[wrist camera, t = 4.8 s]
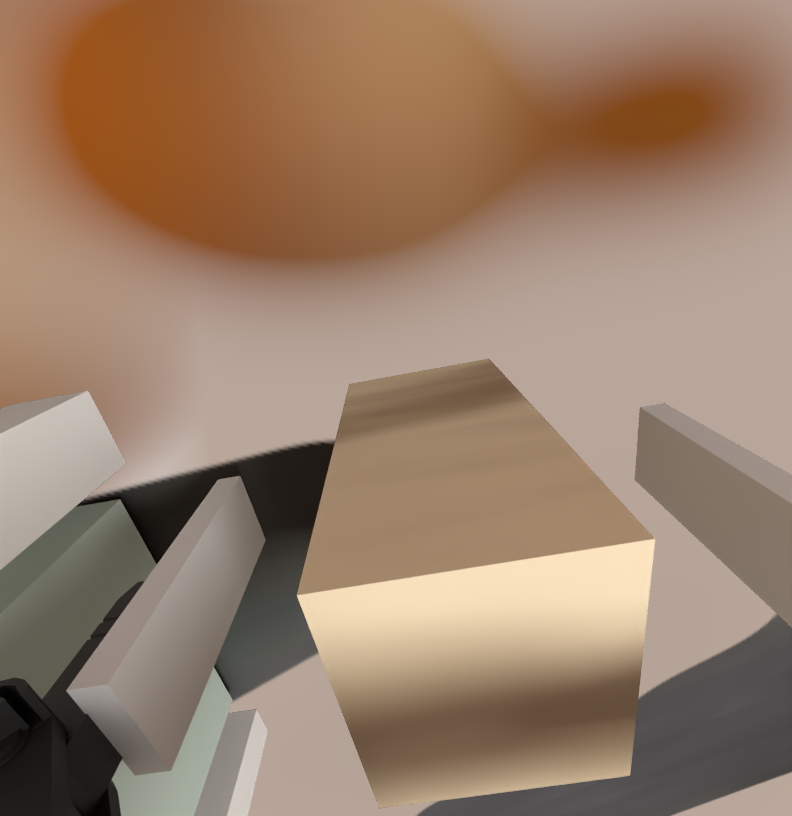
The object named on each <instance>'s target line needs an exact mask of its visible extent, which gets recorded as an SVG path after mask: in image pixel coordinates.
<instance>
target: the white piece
mask: <svg viewBox="0 0 792 816" xmlns="http://www.w3.org/2000/svg"><path fill="white" fill-rule="evenodd" d="M125 464H126V461H125V460H124V458H123V456H122V454H121V452H120V450H119V448H118V447H117V444H116V443H115V441H114V439H113V437H112V435H111V433H110V432H109V429H108V427H107V425H106V424H105V422H104V420H103V418H102V416H101V414H100V413H99V410H98V408H97V407H96V405H95V403H94V401H93V399H92V397H91V395H90V393H89V391H83V392H78V393H72V394H67V395H61V396H56V397H51V398H46V399H40V400H35V401H30V402H24V403H19V404H14V405H8V406H5V407H3V408H1V409H0V570H1V569H2V568H3V567H5V566H6V565H7V564H8V563H9V562H10V561H12V560H13V559H14V558H15V557H16V556H18V555H19V554H20V553H21V552H22V551H23V550H25V549H26V548H27V547H28V546H29V545H31V544H32V543H33V542H34V541H35V540H36V539H38V538H39V537H40V536H41V535H42V534H44V533H45V532H46V531H47V530H48V529H49V528H51V527H52V526H53V525H54V524H55V523H57V522H58V521H59V520H60V519H61V518H62V517H64V516H65V515H66V514H67V513H68V512H70V511H71V510H72V509H73V508H74V507H75V506H77V505H78V504H79V503H80V502H81V501H83V500H84V499H85V498H86V497H87V496H88V495H90V494H91V493H92V492H93V491H94V490H96V489H97V488H98V487H99V486H100V485H101V484H103V483H104V482H105V481H106V480H107V479H109V478H110V477H111V476H112V475H113V474H114V473H116V472H117V471H118V470H119V469H120V468H122V467H123V466H124V465H125ZM267 732H268V731H267V728H266V727H265V725H264V723H263V721H262V719H261V717H260V715H259V713H258V711H257V710H256V709H254V710H248V711H241V712H235V713H228V715H227V718H226V721H225V724H224V727H223V730H222V733H221V736H220V739H219V742H218V745H217V748H216V751H215V754H214V757H213V760H212V763H211V766H210V769H209V772H208V775H207V778H206V781H205V784H204V787H203V790H202V793H201V796H200V799H199V802H198V805H197V808H196V811H195V814H194V816H248V812H249V807H250V803H251V798H252V795H253V791H254V786H255V782H256V778H257V774H258V770H259V766H260V761H261V757H262V753H263V749H264V745H265V741H266V736H267Z"/></svg>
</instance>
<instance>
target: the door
mask: <svg viewBox="0 0 792 816" xmlns="http://www.w3.org/2000/svg"><path fill="white" fill-rule="evenodd" d="M156 565H157V564H156V563H155V561H154V559H153V557H152V555H151V554H150V552H149V550H148V548H147V546H146V545H145V543H144V541H143V539H142V538H141V536H140V534H139V532H138V530H137V529H136V527H135V525H134V523H133V521H132V520H131V518H130V516H129V514H128V512H127V511H126V509H125V507H124V505H123V504H122V502H121V500H120V499H118V500H112V501H107V502H101V503H95V504H89V505H83V506H78V507H74V508H73V509H72V510H71V511H70V512H68V513H67V514H66V515H65V516H64V517H62V518H61V519H60V520H59V521H58V522H57V523H55V524H54V525H53V526H52V527H51V528H49V529H48V530H47V531H46V532H45V533H44V534H42V535H41V536H40V537H39V538H38V539H36V540H35V541H34V542H33V543H32V544H31V545H29V546H28V547H27V548H26V549H25V550H23V551H22V552H21V553H20V554H19V555H18V556H16V557H15V558H14V559H13V560H12V561H10V562H9V563H8V564H7V565H6V566H5V567H3V568H2V569H1V570H0V681H2V680H6V679H10V678H14V677H16V678H20V679H25V680H26V682H27V683H28V684H29V685H30V686H31V687H32V689H33V690H34V691H35V692H36V693H37V694H38V696H39V697H40V698H41V699H43V698H44V696H45V695H46V694H47V692H48V691H49V690H50V688H51V687H52V686H53V684H54V683H55V682H56V680H57V679H58V678H59V677H60V675H61V674H62V673H63V671H64V670H65V669H66V667H67V666H68V665H69V663H70V662H71V661H72V659H73V658H74V657H75V655H76V654H77V653H78V651H79V650H80V649H81V648H82V646H83V645H84V644H85V642H86V641H87V640H90V638H91V634H92V633H93V632H94V630H95V629H96V628H97V626H98V625H99V624H100V623H103V619H104V617H105V616H106V615H107V613H108V612H109V611H110V609H111V608H112V607H113V605H114V604H115V603H116V601H117V600H118V599H119V598H120V597H121V596H122V595H124V594H125V593H126V592H127V591H128V590H129V589H130V588H131V587H133V586H134V585H135V584H136V583H137V582H140V581H145V580H146V579H147V578H148V576H149V575H150V573H151V572H152V571H153V569H154V568H155V566H156ZM231 703H232V698H231V697H230V695H229V693H228V691H227V689H226V688H225V686H224V684H223V682H222V680H221V679H220V677H219V675H218V673H217V672H216V670H215V668H214V667H213V670H212V672H211V675H210V677H209V680H208V682H207V685H206V687H205V689H204V692H203V694H202V697H201V699H200V702H199V704H198V706H197V709H196V711H195V714H194V716H193V719H192V721H191V724H190V726H189V728H188V731H187V733H186V736H185V738H184V741H183V743H182V746H181V748H180V750H179V753H178V755H177V758H176V760H175V763H174V765H173V768H172V770H171V771H165V772H158V773H151V774H143V775H136V776H135V775H134V774H133V772H132V771H131V770H130V769H129V768H128V766H127V765H126V764H125V763H124V761H123V760H121V762H120V764H119V766H118V768H117V770H116V772H115V774H114V776H113V778H112V781H113V782H114V784H115V787H116V789H117V791H118V797H119V804H120V811H121V816H194V814H195V811H196V808H197V805H198V802H199V799H200V796H201V793H202V790H203V787H204V784H205V781H206V778H207V775H208V772H209V769H210V766H211V763H212V760H213V757H214V754H215V751H216V748H217V745H218V742H219V739H220V736H221V733H222V730H223V727H224V724H225V721H226V718H227V715H228V712H229V709H230V706H231Z"/></svg>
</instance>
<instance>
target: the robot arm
mask: <svg viewBox="0 0 792 816" xmlns="http://www.w3.org/2000/svg"><path fill="white" fill-rule="evenodd" d="M635 481H637V482H638V483H639V484H640V485H641V486H642V487H643V488H644V489H645V490H646V491H647V492H648V493H649V494H650V495H651V496H653V497H654V498H655V499H656V500H657V501H658V502H659V503H660V504H661V505H662V506H663V507H664V508H665V509H666V510H668V511H669V512H670V513H671V514H672V515H673V516H674V517H675V518H676V519H677V520H678V521H679V522H680V523H681V524H682V525H683V526H684V527H686V528H687V529H688V530H689V531H690V532H691V533H692V534H693V535H694V536H695V537H696V538H698V540H699V541H700V542H702V543H703V544H704V545H705V546H706V547H707V548H708V549H709V550H710V551H711V552H712V553H713V554H714V555H715V556H716V557H717V558H718V559H720V560H721V561H722V562H723V563H724V564H725V565H726V566H727V567H728V568H729V569H730V570H731V571H732V572H733V573H734V574H736V575H737V576H738V577H739V578H740V579H741V580H742V581H743V582H744V583H745V584H746V585H747V586H748V587H749V588H751V590H753V591H754V592H755V593H756V594H757V595H758V596H759V597H760V598H761V599H762V600H763V601H764V602H766V604H768V605H769V606H770V607H771V608H772V609H773V610H774V611H775V612H776V613H777V614H778V615H779V616H780V617H781V618H782V619H783V620H784V621H786V622H787V623H788V624H789V625H790V626H791V627H792V475H791V474H790V473H788V472H786V471H784V470H783V469H781V468H779V467H777V466H775V465H774V464H772V463H770V462H768V461H767V460H765V459H763V458H761V457H760V456H758V455H756V454H754V453H752V452H751V451H749V450H747V449H745V448H744V447H742V446H740V445H738V444H736V443H735V442H733V441H731V440H729V439H728V438H726V437H724V436H722V435H720V434H719V433H717V432H715V431H713V430H711V429H710V428H708V427H706V426H704V425H703V424H701V423H699V422H697V421H696V420H694V419H692V418H690V417H689V416H687V415H685V414H683V413H681V412H680V411H678V410H676V409H674V408H673V407H671V406H669V405H667V404H665V403H662V404H656V405H650V406H644V407H640V413H639V429H638V442H637V456H636V470H635ZM265 540H266V539H265V537H264V534H263V532H262V529H261V527H260V524H259V522H258V519H257V517H256V514H255V512H254V509H253V507H252V504H251V502H250V499H249V497H248V494H247V492H246V489H245V487H244V484H243V482H242V479H241V477H240V476H236V477H230V478H224V479H218V480H217V482H216V483H215V484H214V486H213V487H212V489H211V490H210V491H209V493H208V494H207V496H206V497H205V498H204V500H203V501H202V503H201V504H200V505H199V507H198V508H197V510H196V511H195V512H194V514H193V515H192V516H191V518H190V519H189V521H188V522H187V523H186V525H185V526H184V528H183V529H182V530H181V532H180V533H179V535H178V536H177V537H176V539H175V540H174V541H173V543H172V544H171V546H170V547H169V548H168V550H167V551H166V553H165V554H164V555H163V557H162V558H161V560H160V561H159V562H158V564H157V565H156V566H155V568H154V569H153V571H152V572H151V573H150V575H149V576H148V578H147V579H146V580H145V581H140V582H137V583H136V584H135V585H134V586H133V587H131V588H130V589H129V590H128V591H127V592H126V593H125V594H124V595H122V596H121V597H120V598H119V599H118V600H117V601H116V603H115V604H114V605H113V607H112V608H111V609H110V611H109V612H108V613H107V615H106V616H105V617H104V619H103V623H100V624H99V625H98V626H97V628H96V629H95V630H94V632H93V633H92V634H91V638H90V640H87V641H86V642H85V644H84V645H83V646H82V648H81V649H80V650H79V651H78V653H77V654H76V655H75V657H74V658H73V659H72V661H71V662H70V663H69V665H68V666H67V667H66V669H65V670H64V671H63V673H62V674H61V675H60V677H59V678H58V679H57V680H56V682H55V683H54V684H53V686H52V687H51V688H50V690H49V691H48V692H47V694H46V695H45V696H44V698H43V699H41V698H40V697H39V696H38V694H37V693H36V692H35V691H34V690H33V689H32V687H31V686H30V685H29V684H28V683H27V682H26V680H25V679H20V678H16V677H14V678H10V679H6V680H2V681H0V816H121V811H120V804H119V797H118V791H117V789H116V787H115V784H114V782H113V781H112V778H113V776H114V774H115V772H116V770H117V768H118V766H119V764H120V762H121V760H123V761H124V763H125V764H126V765H127V766H128V768H129V769H130V770H131V771H132V772H133V774H134V775H135V776H136V775H143V774H151V773H158V772H165V771H171V770H172V768H173V765H174V763H175V760H176V758H177V755H178V753H179V750H180V748H181V746H182V743H183V741H184V738H185V736H186V733H187V731H188V728H189V726H190V724H191V721H192V719H193V716H194V714H195V711H196V709H197V706H198V704H199V702H200V699H201V697H202V694H203V692H204V689H205V687H206V685H207V682H208V680H209V677H210V675H211V672H212V670H213V667H214V665H215V663H216V660H217V658H218V655H219V653H220V650H221V648H222V645H223V643H224V641H225V638H226V636H227V633H228V631H229V628H230V626H231V623H232V621H233V619H234V616H235V614H236V611H237V609H238V606H239V604H240V602H241V599H242V597H243V594H244V592H245V589H246V587H247V584H248V582H249V580H250V577H251V575H252V572H253V570H254V567H255V565H256V562H257V560H258V558H259V555H260V553H261V550H262V548H263V545H264V543H265Z"/></svg>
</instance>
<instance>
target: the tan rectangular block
mask: <svg viewBox="0 0 792 816" xmlns="http://www.w3.org/2000/svg"><path fill="white" fill-rule="evenodd" d="M654 545H655V538H654V537H653V536H652V535H651V534H650V533H649V532H648V530H647V529H646V528H645V527H644V526H643V525H642V524H641V523H640V522H639V521H638V520H637V519H636V517H635V516H634V515H633V514H632V513H631V512H630V511H629V510H628V509H627V508H626V507H625V506H624V504H623V503H622V502H621V501H620V500H619V499H618V498H617V497H616V496H615V495H614V494H613V492H612V491H611V490H610V489H609V488H608V487H607V486H606V485H605V484H604V483H603V482H602V481H601V480H600V478H599V477H598V476H597V475H596V474H595V473H594V472H593V471H592V470H591V469H590V468H589V466H588V465H587V464H586V463H585V462H584V461H583V460H582V459H581V458H580V457H579V456H578V455H577V453H576V452H575V451H574V450H573V449H572V448H571V447H570V446H569V445H568V444H567V443H566V442H565V440H564V439H563V438H562V437H561V436H560V435H559V434H558V433H557V432H556V431H555V430H554V429H553V427H552V426H551V425H550V424H549V423H548V422H547V421H546V420H545V419H544V418H543V417H542V416H541V414H540V413H539V412H538V411H537V410H536V409H535V408H534V407H533V406H532V405H531V404H530V403H529V401H528V400H527V399H526V398H525V397H524V396H523V395H522V394H521V393H520V392H519V391H518V389H516V387H515V386H514V385H513V384H512V383H511V382H510V381H509V380H508V379H507V378H506V377H505V375H504V374H503V373H502V372H501V371H500V370H499V369H498V368H497V367H496V366H495V365H494V364H493V362H492V361H491V360H490V359H485V360H479V361H474V362H468V363H463V364H457V365H452V366H446V367H441V368H435V369H430V370H424V371H419V372H413V373H408V374H402V375H396V376H392V377H385V378H380V379H375V380H369V381H364V382H358V383H352V384H350V385H349V388H348V392H347V396H346V400H345V404H344V408H343V412H342V416H341V420H340V424H339V429H338V432H337V436H336V440H335V444H334V448H333V452H332V456H331V460H330V464H329V468H328V472H327V476H326V480H325V484H324V488H323V492H322V496H321V500H320V504H319V508H318V512H317V516H316V520H315V524H314V528H313V532H312V536H311V540H310V544H309V548H308V553H307V557H306V561H305V565H304V569H303V573H302V577H301V581H300V585H299V589H298V593H297V597H298V600H299V602H300V605H301V607H302V610H303V613H304V615H305V618H306V620H307V623H308V626H309V628H310V631H311V633H312V636H313V638H314V641H315V644H316V646H317V649H318V651H319V654H320V657H321V659H322V662H323V664H324V667H325V669H326V672H327V674H328V677H329V679H330V682H331V685H332V687H333V690H334V692H335V695H336V698H337V700H338V703H339V705H340V708H341V711H342V713H343V716H344V718H345V721H346V724H347V726H348V729H349V731H350V734H351V737H352V739H353V742H354V744H355V747H356V749H357V752H358V755H359V757H360V759H361V762H362V765H363V768H364V770H365V773H366V775H367V778H368V780H369V783H370V786H371V788H372V790H373V793H374V796H375V798H376V801H377V803H378V806H379V808H388V807H395V806H403V805H411V804H418V803H426V802H433V801H441V800H448V799H456V798H464V797H471V796H479V795H486V794H494V793H501V792H509V791H517V790H524V789H532V788H539V787H547V786H554V785H562V784H570V783H577V782H585V781H592V780H600V779H607V778H615V777H623V776H630V770H631V761H632V752H633V742H634V733H635V724H636V714H637V705H638V695H639V686H640V677H641V666H642V658H643V648H644V637H645V630H646V620H647V611H648V601H649V592H650V583H651V573H652V564H653V555H654Z"/></svg>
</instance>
